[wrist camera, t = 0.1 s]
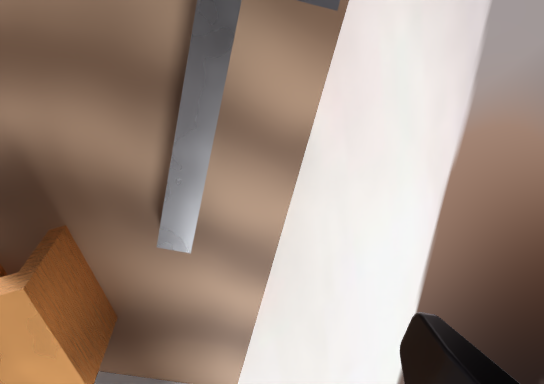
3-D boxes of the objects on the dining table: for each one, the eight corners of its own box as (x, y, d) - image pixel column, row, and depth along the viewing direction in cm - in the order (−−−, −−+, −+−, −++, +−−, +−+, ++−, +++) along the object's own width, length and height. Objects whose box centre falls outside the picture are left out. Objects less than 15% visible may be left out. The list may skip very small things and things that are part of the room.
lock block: (117, 317, 26) (90, 392, 22) (32, 339, 27) (-11, 418, 22) (66, 224, 24) (23, 288, 19) (-28, 251, 24) (-91, 320, 20)
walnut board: (236, 374, 30) (235, 390, 29) (-21, 337, 28) (-31, 352, 27) (439, -339, 16) (453, -359, 15) (-39, -519, 14) (-63, -559, 13)
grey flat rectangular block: (256, 248, 25) (257, 291, 21) (52, 210, 23) (21, 251, 20) (412, -328, 15) (453, -400, 12) (87, -448, 14) (41, -564, 11)
